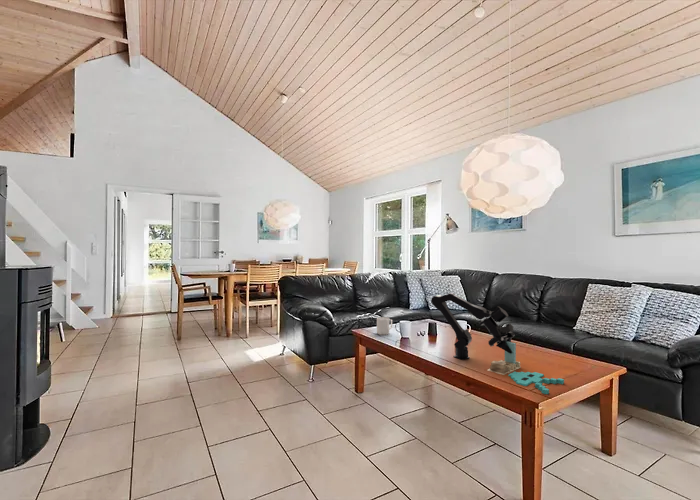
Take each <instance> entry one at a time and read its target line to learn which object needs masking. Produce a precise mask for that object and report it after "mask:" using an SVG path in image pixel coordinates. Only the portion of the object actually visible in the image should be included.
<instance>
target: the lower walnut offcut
mask: <svg viewBox="0 0 700 500" xmlns="http://www.w3.org/2000/svg"><path fill="white" fill-rule="evenodd" d="M489 369H490V370H492V371H496V372H499V373H503V374H504V373H506V372H508V368H507V367H506V368H504V369H501V368H497V367H492V366H491V365H490V367H489ZM492 371H491V372H492Z"/></svg>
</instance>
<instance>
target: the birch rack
mask: <svg viewBox="0 0 700 500" xmlns="http://www.w3.org/2000/svg"><path fill="white" fill-rule="evenodd" d="M497 361H498V362H503V363H506V367H507V368H508V372H506V373H504V374H503V373H499V372H496V371H492V370H490V368H488V369H487V371H488V372H491V373H496V374H498V375H501V376H506V375H507V374H511V373H513V372H515V371H516V370H518V369H521V368H522V366H521V361H517V360H516V364H514V363H510V362H506V361H505V358H504V360H503V359H502V360H497Z"/></svg>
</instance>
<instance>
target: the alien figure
mask: <svg viewBox="0 0 700 500" xmlns="http://www.w3.org/2000/svg"><path fill="white" fill-rule="evenodd" d="M544 374H545V373H544ZM544 374H543V373H540V372H537V371H534V372H530V371H526V372H524V371H519V372H518V371H512V372H510V373H508V375H507V376H508V377H509V378H510V379H511V380H513V382H515V384H516V385H520V386H523V387H528V386H529V385H531V384H534V387H535V388H536V389H537V390H538V391H539V390H540V392H541V394H544V395H546V394H547V395H549V394H550V389H549V388H547V387H546V386H545V385H543V384H547V385H548V384H553V385H556V384H559V385H564V383H565V379H563V378H559V377H558V378H553V377H551V378H548V377H544V376H545V375H544ZM543 377H544V378H543Z"/></svg>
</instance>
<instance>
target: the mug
mask: <svg viewBox="0 0 700 500" xmlns="http://www.w3.org/2000/svg"><path fill="white" fill-rule="evenodd" d="M392 328H393V319H390V317H386V316H379V317H378V316H377V318H376V333H377V335H380V336H388V335H389V333H390V330H391V329H392Z"/></svg>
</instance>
